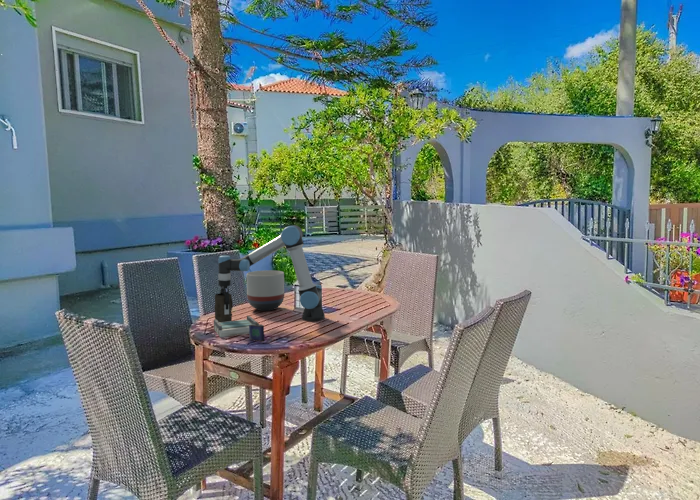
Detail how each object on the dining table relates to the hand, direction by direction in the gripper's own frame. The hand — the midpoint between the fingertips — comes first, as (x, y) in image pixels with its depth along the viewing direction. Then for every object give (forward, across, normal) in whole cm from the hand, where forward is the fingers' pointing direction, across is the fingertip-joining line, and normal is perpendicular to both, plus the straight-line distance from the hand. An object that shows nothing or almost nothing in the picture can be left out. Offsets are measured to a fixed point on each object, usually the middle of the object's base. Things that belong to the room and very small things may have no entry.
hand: (224, 312), depth 314 cm
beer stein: (+8, -1, +1) cm, 8 cm away
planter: (+7, -26, +35) cm, 44 cm away
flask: (+7, +47, +9) cm, 49 cm away
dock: (+7, +22, +2) cm, 23 cm away
